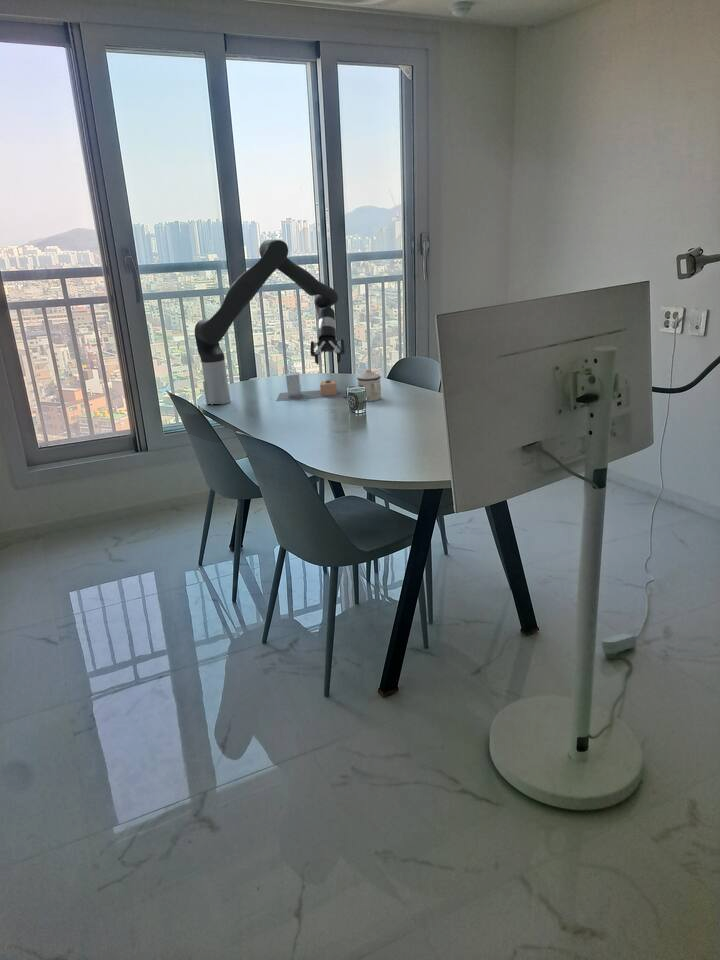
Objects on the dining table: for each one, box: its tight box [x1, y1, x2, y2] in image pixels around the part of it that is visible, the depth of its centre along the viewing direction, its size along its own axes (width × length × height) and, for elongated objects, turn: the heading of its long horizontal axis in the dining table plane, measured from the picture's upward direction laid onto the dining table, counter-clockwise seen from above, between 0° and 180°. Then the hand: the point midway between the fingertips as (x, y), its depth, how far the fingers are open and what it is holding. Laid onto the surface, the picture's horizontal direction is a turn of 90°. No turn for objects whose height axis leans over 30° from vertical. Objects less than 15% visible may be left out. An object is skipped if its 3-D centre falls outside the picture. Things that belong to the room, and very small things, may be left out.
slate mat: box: [276, 388, 347, 402], centre depth 268 cm, size 28×14×1 cm, turn 90°
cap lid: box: [319, 379, 338, 396], centre depth 267 cm, size 6×6×5 cm
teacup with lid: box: [356, 368, 382, 402], centre depth 253 cm, size 12×9×12 cm
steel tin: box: [285, 371, 302, 398], centre depth 266 cm, size 5×5×9 cm
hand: (328, 362), depth 271 cm, fingers open, 8 cm apart
